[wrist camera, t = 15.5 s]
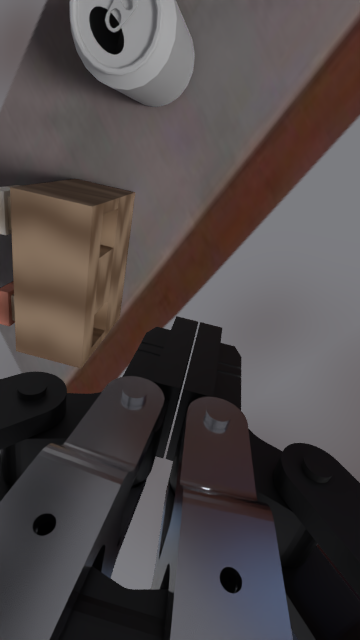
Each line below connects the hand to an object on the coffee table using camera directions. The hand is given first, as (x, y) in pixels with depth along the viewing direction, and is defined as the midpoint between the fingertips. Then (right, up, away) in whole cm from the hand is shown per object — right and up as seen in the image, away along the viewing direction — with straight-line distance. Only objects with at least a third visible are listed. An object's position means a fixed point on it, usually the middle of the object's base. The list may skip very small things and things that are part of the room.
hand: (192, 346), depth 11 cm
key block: (-10, +9, +30) cm, 33 cm away
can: (-3, +25, +21) cm, 33 cm away
